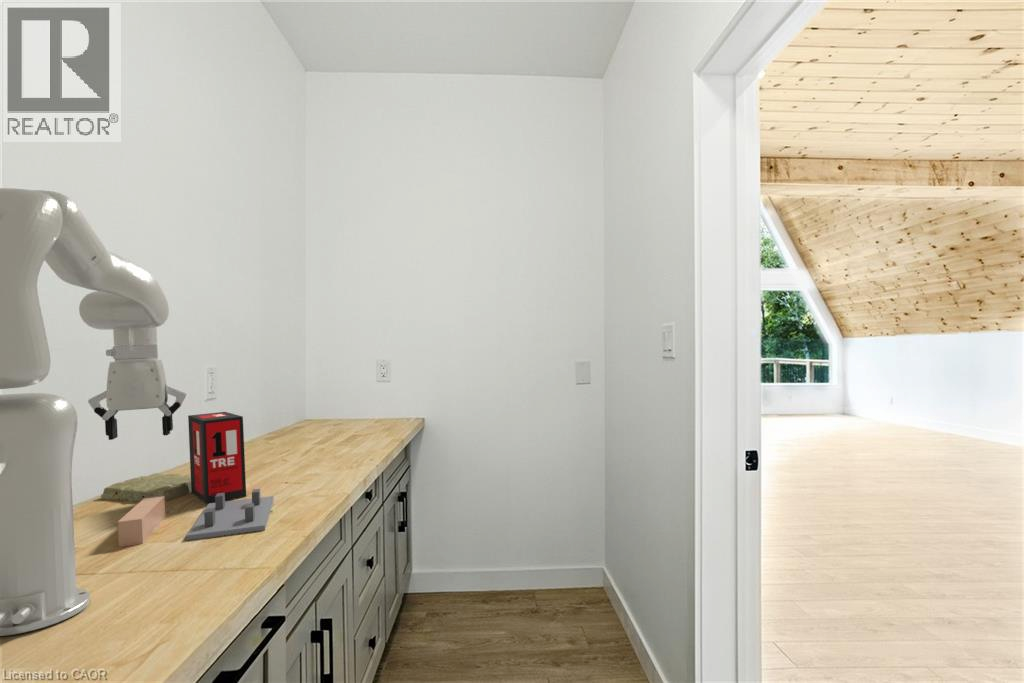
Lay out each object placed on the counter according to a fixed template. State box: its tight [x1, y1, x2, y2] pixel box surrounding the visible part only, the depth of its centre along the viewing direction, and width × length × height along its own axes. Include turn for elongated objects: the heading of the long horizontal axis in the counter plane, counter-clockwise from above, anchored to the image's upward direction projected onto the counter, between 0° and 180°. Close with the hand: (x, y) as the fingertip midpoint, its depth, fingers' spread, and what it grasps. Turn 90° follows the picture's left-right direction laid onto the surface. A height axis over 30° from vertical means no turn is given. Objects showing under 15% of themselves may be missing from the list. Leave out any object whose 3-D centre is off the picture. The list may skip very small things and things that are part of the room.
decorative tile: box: [100, 472, 192, 502], centre depth 153 cm, size 19×20×4 cm
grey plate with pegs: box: [186, 488, 274, 541], centre depth 126 cm, size 24×14×4 cm, turn 18°
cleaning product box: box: [187, 411, 247, 505], centre depth 148 cm, size 16×9×20 cm, turn 40°
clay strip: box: [117, 496, 166, 547], centre depth 120 cm, size 18×4×5 cm, turn 19°
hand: (140, 436), depth 120 cm, fingers open, 9 cm apart
